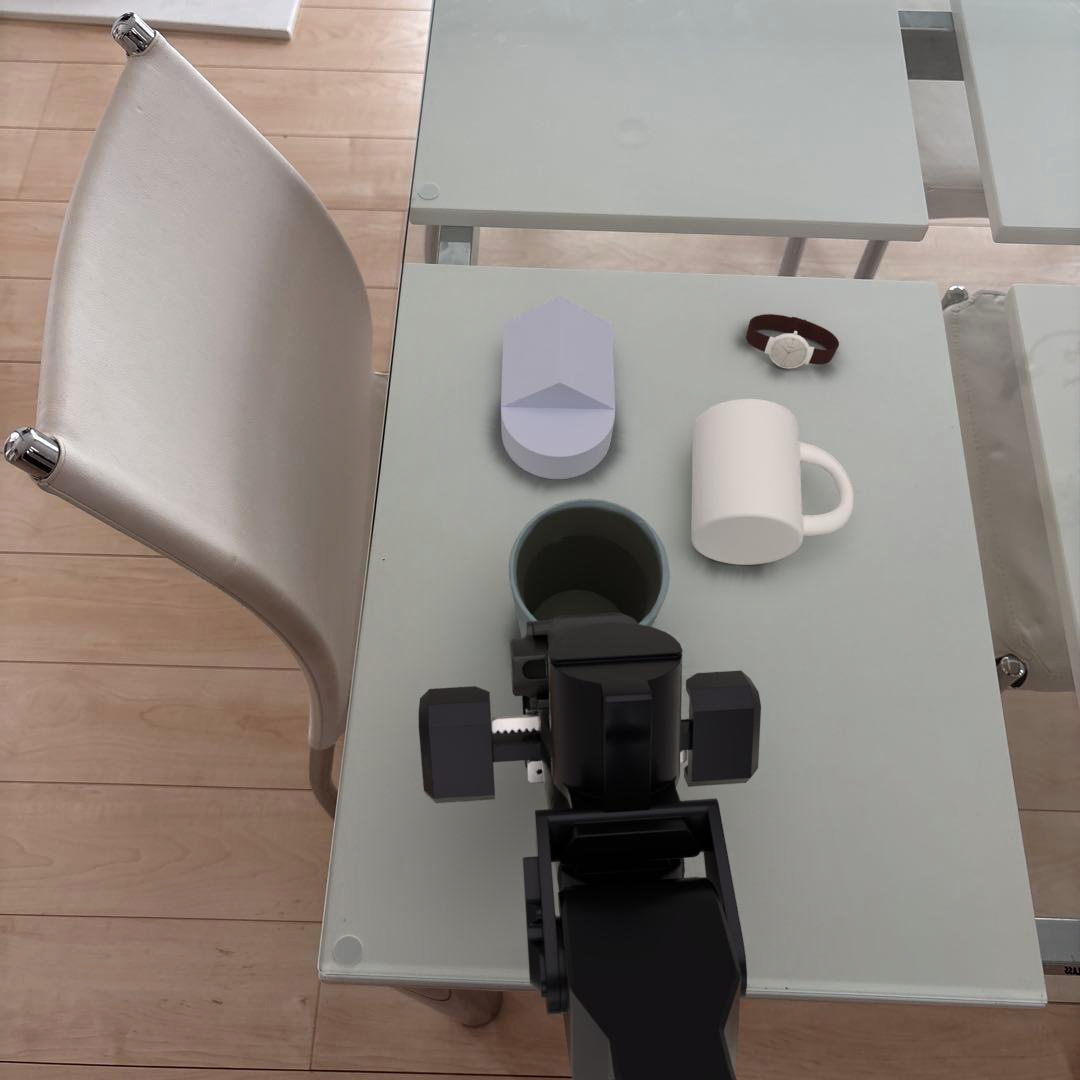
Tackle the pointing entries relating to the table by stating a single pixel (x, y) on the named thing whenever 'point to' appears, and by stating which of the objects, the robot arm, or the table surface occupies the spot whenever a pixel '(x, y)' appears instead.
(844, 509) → the mug
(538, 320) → the wedge on round base
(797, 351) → the watch
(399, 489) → the table surface
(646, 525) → the teal cup
